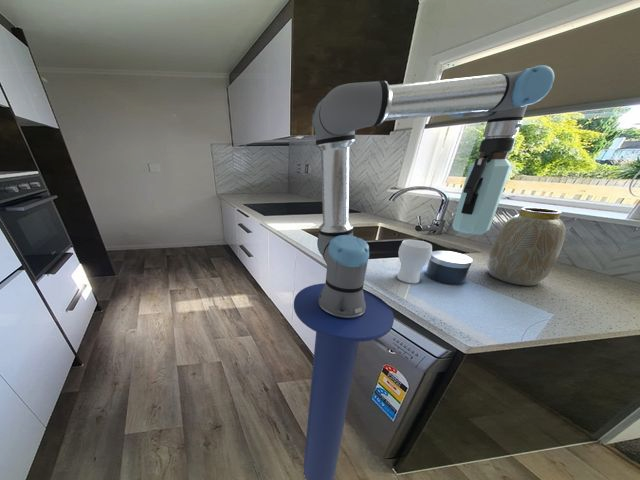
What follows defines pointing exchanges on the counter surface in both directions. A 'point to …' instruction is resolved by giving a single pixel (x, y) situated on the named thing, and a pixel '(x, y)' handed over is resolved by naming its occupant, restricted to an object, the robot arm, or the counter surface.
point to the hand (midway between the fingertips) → (475, 211)
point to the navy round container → (448, 267)
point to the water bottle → (484, 196)
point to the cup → (413, 259)
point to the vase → (527, 247)
